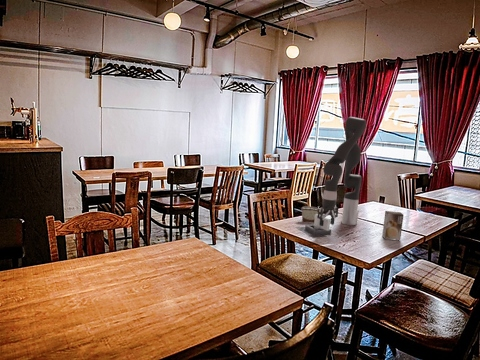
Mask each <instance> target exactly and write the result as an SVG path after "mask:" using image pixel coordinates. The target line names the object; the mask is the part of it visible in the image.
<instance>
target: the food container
mask: <svg viewBox="0 0 480 360" xmlns="http://www.w3.org/2000/svg"><path fill="white" fill-rule="evenodd" d="M319 208H320V207H319ZM319 208H318V207H316V206H310V205H309V206H308V205H307V206H302V207H301V208H300V209H301V210H300V211H301V217H302V218H301V222H302V223H305V222H310V223H314V220H315V214H318V209H319Z"/></svg>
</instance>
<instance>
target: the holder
mask: <svg viewBox="0 0 480 360" xmlns="http://www.w3.org/2000/svg"><path fill="white" fill-rule="evenodd" d="M295 229H297V230H299V231H301V232H302V233H304V234H305V235H307V236H309V237H311V238H312V239H317V238H318V239H319V238H328V237H329V238H331V237H342V235H341V234H339V233H337V232H336V231H335V230H334V231H333V230H332V229H331V228H329V230H328V231H327V230H324V229H321V230H316V229H314V224H306V225H304V226H296V227H295Z"/></svg>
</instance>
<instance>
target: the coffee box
mask: <svg viewBox="0 0 480 360" xmlns="http://www.w3.org/2000/svg"><path fill="white" fill-rule="evenodd" d="M403 222H404V214H403V212H399V211H392V210H385V211H384V218H383V226H382V237H384V238H385V239H384V238H383V239H384V240H388V239H396V240H395V241H398V240H400V241H401V238H402V230H403Z"/></svg>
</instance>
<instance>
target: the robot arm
mask: <svg viewBox="0 0 480 360" xmlns="http://www.w3.org/2000/svg"><path fill="white" fill-rule="evenodd" d="M366 127H367V120H366V119H363V118H359V117H354V116H349V117H347V119H346V121H345V125H344V132H345V141H344V142H342V143H340V145H338V147H337V149H336V150H335V151H334V153H333V155H332V157H331V158H329V160H328V161H327V162H326V163H325V165H324V166H323V173H324V174H325V176H329V177H330V176H331V179H326V180H325V181H324V182H325V183H324V190H323V195H322V208H320V207H319V209H318V216H317V218H319V219H320V226H323V224H324V218H327V217H328V216H330V226H331V225H332V226H333V225H334V226H335V219H336V218H338V217H339V207H337V206H336V205H337V197H338V195H337V194H338V193H337V191H338V184H339V181H340V179H341V177H342V174H343V167H342V166H341V165H340V164H345V167H344V169H345V170H344V178H343V186H344V187H345V188H348V189H353V191H351V192H346V193H344V198H343V206H342V214H341V215H342V216H341V223H342V224H343V225H347V226H355V225H358V218H359V210H358V208H359V200H360V190H361V187H362V181H363V179H362V176H361V175H360V174H354V173H353V174H352V170H353V169H355V167H356V166H357V165H358V164H359V163H360V161H361V157H362V155H361V154H362V151H361V148H360V145H359V144H358V141H359V139H360V138H361V137H362V135H363V134H364V132H365V131H366ZM322 217H323V218H322Z"/></svg>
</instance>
